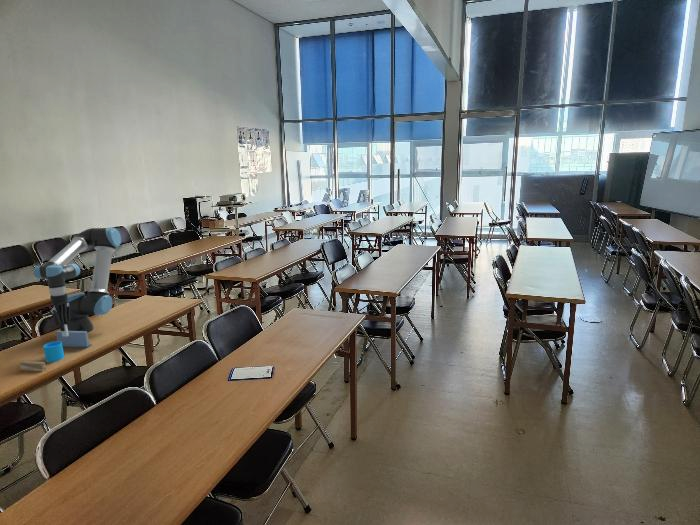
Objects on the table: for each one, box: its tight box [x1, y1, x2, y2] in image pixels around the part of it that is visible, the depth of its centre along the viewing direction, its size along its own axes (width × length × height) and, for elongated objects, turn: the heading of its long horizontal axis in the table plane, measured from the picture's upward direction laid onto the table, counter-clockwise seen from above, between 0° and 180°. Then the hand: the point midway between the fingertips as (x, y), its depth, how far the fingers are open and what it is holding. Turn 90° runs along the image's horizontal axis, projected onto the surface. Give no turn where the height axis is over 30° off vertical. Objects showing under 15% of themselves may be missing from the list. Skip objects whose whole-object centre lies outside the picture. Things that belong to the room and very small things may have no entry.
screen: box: [55, 330, 93, 349], centre depth 250 cm, size 4×18×9 cm, turn 82°
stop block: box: [19, 360, 47, 372], centre depth 223 cm, size 2×12×4 cm, turn 82°
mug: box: [43, 340, 65, 363], centre depth 236 cm, size 12×8×8 cm
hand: (65, 335), depth 243 cm, fingers closed
